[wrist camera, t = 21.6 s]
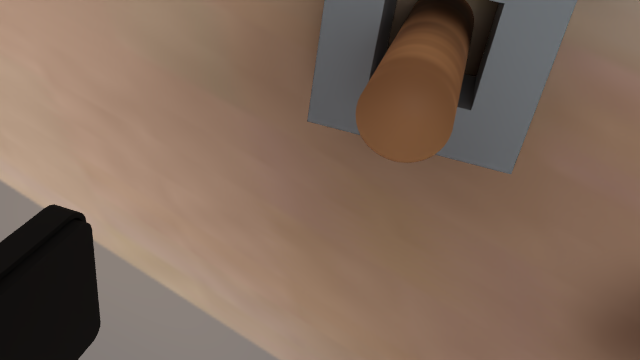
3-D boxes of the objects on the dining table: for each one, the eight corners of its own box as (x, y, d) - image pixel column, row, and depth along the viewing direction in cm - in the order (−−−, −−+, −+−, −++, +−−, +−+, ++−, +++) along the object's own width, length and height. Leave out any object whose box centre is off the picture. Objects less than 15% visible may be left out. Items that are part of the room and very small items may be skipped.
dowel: (463, 61, 29) (439, 173, 19) (402, 47, 30) (348, 148, 20) (482, -2, 27) (465, 85, 17) (416, -16, 28) (365, 61, 18)
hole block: (510, 133, 30) (510, 174, 27) (331, 88, 32) (307, 121, 28) (583, -68, 25) (596, -52, 21) (363, -109, 27) (339, -101, 23)
